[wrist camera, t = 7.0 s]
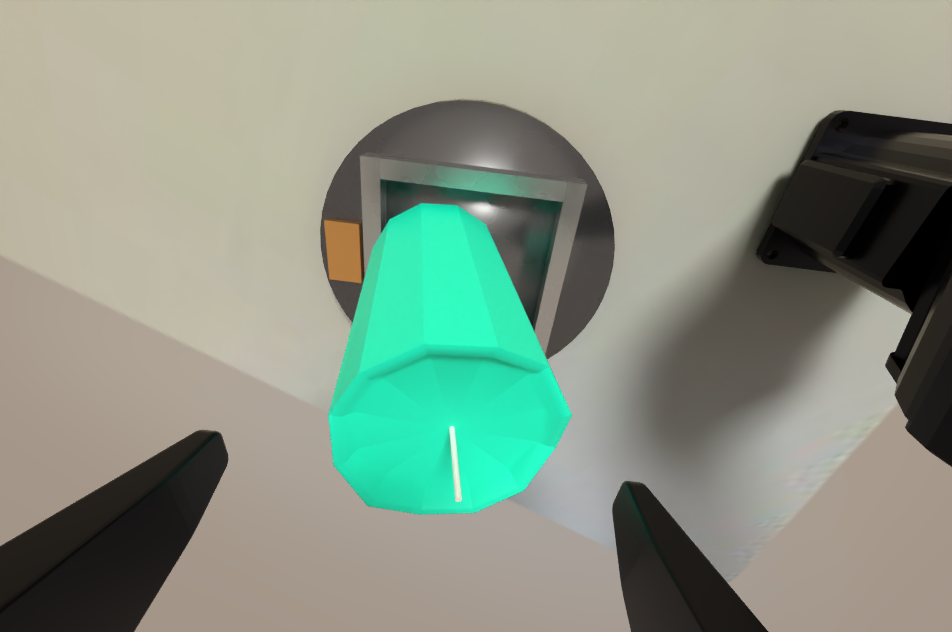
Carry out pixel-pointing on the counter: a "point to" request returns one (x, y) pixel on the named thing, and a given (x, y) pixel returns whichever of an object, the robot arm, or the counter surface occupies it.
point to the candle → (442, 374)
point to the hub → (480, 205)
